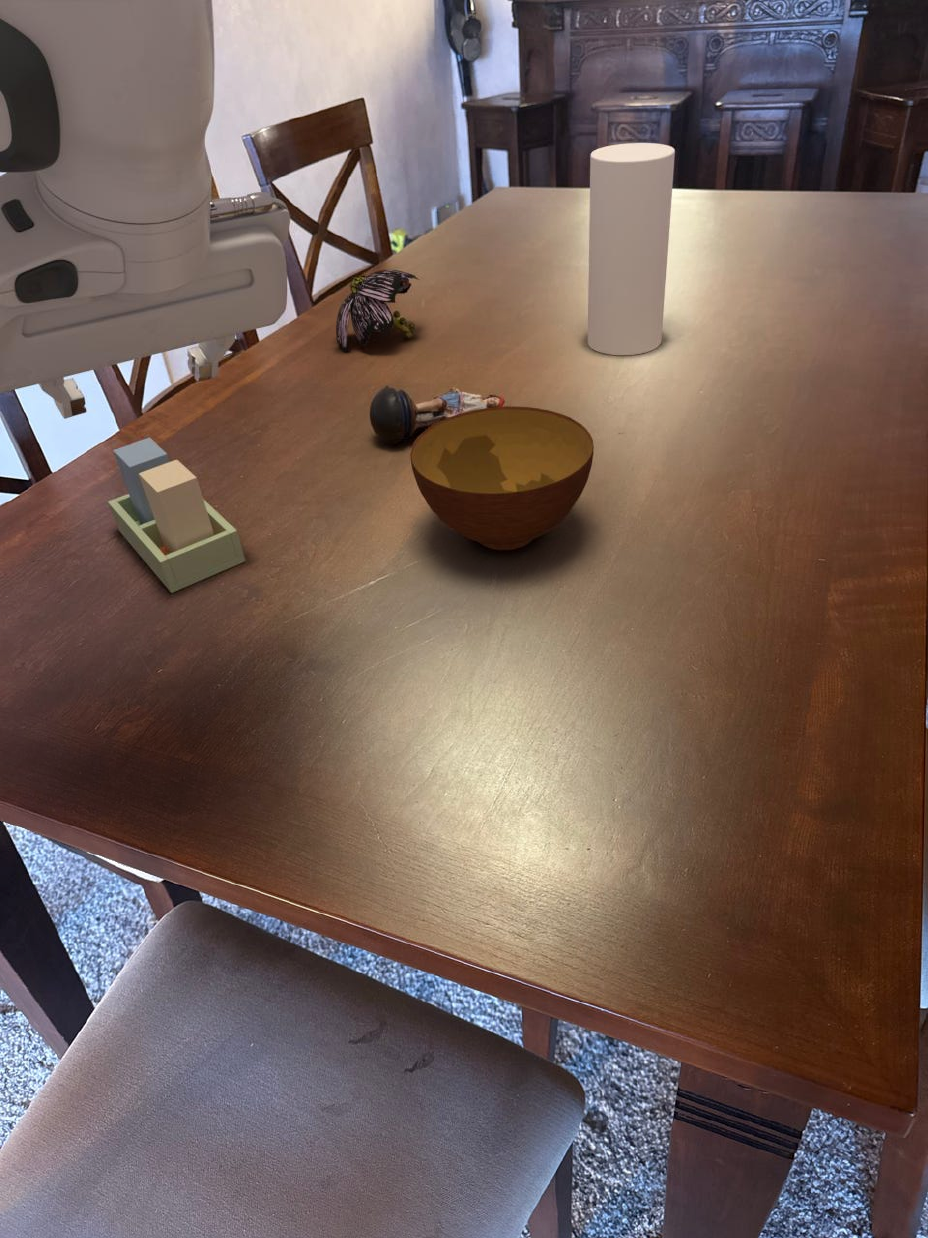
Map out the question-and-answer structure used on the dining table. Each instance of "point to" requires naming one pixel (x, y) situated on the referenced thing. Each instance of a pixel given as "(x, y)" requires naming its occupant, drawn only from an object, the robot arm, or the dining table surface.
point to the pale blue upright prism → (135, 462)
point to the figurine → (420, 411)
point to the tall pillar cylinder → (628, 246)
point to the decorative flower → (372, 306)
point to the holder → (184, 562)
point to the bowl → (503, 472)
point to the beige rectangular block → (176, 505)
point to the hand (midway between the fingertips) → (139, 390)
